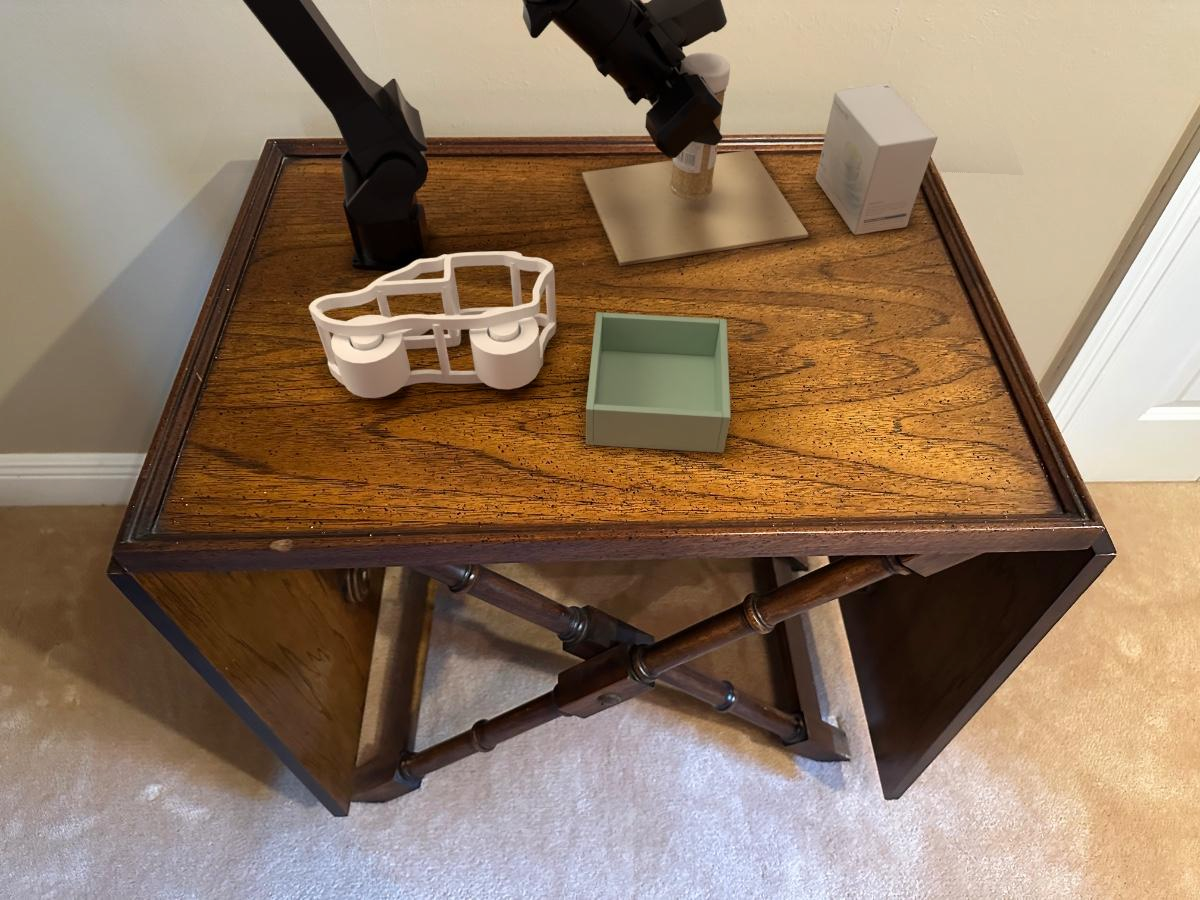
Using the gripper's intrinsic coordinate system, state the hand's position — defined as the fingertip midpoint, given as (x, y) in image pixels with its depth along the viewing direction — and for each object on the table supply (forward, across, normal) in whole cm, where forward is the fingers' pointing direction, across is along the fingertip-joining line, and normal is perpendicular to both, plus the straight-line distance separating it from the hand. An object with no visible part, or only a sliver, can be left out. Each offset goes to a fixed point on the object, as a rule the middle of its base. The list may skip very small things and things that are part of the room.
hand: (710, 129), depth 82 cm
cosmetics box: (+18, -4, -6) cm, 19 cm away
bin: (-3, -26, +15) cm, 30 cm away
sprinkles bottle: (+4, 0, +6) cm, 7 cm away
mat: (+5, 0, +7) cm, 9 cm away
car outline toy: (-14, -17, +27) cm, 35 cm away
